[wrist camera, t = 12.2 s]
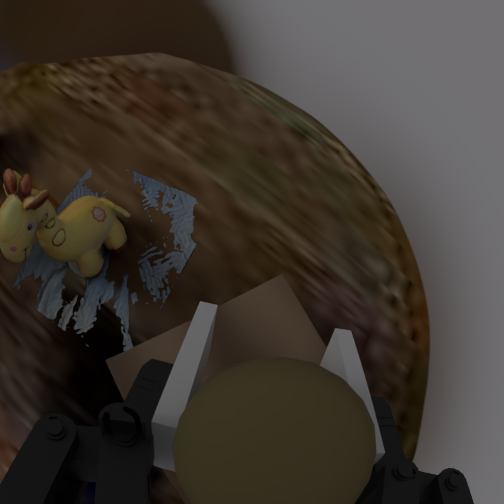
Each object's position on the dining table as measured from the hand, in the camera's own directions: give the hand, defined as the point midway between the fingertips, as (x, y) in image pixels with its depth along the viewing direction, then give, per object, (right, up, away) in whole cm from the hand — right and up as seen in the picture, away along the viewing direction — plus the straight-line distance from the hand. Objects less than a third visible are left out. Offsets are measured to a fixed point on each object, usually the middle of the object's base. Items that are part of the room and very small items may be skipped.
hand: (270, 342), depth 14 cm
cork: (-1, -5, +2) cm, 5 cm away
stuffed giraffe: (-15, +4, +16) cm, 23 cm away
